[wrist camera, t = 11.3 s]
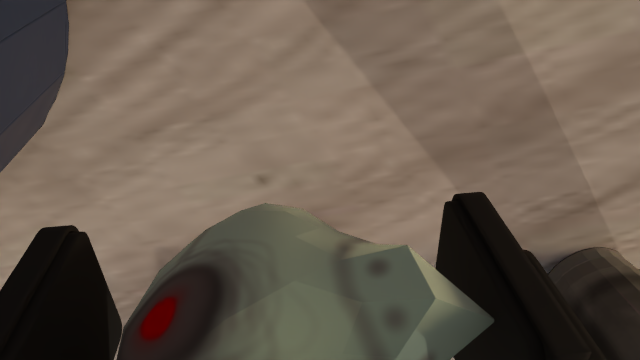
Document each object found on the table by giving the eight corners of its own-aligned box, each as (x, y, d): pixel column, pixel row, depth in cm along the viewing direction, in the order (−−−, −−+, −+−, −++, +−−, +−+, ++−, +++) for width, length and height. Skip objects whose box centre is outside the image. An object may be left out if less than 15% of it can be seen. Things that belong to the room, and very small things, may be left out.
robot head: (192, 333, 14) (126, 648, 8) (81, 244, 12) (-111, 572, 6) (433, 194, 12) (580, 472, 6) (347, 63, 10) (439, 283, 4)
